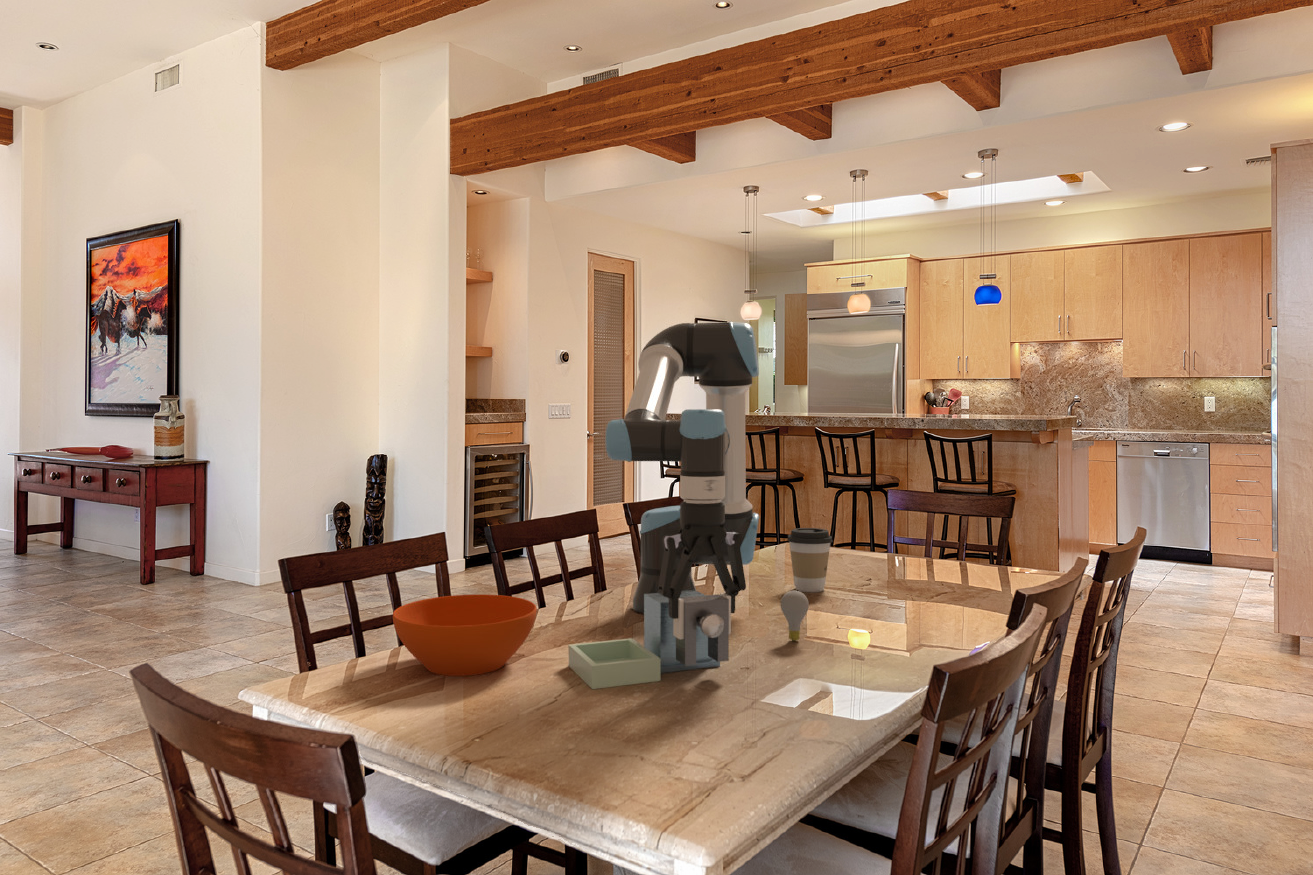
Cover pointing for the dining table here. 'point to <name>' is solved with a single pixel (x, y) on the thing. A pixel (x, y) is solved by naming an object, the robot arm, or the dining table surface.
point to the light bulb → (794, 611)
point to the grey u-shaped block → (693, 609)
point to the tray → (614, 663)
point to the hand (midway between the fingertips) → (702, 634)
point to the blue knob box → (664, 642)
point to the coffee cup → (809, 558)
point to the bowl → (464, 631)
